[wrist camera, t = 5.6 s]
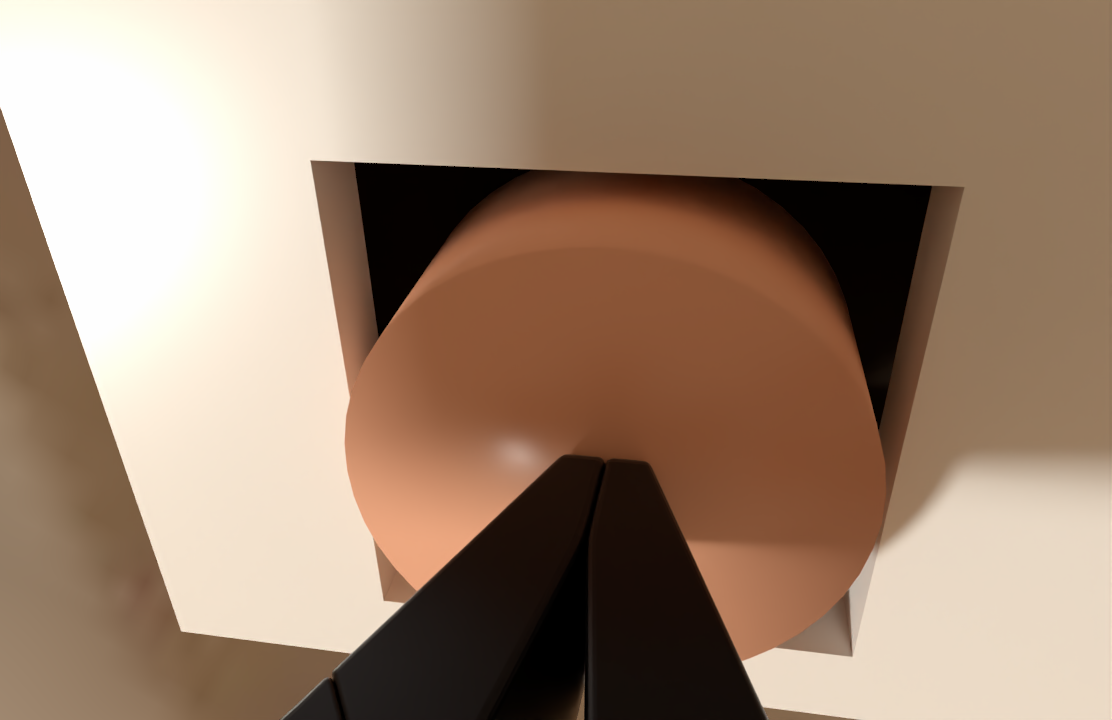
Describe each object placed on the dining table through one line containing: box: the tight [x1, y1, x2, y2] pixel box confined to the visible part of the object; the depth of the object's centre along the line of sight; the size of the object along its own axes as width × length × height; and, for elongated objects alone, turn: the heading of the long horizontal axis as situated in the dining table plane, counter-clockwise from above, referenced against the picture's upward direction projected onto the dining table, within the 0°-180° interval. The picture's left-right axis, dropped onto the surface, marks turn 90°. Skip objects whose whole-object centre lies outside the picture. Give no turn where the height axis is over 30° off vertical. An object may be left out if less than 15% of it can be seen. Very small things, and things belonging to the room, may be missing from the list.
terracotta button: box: [344, 169, 886, 661], centre depth 9 cm, size 5×5×2 cm
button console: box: [0, 0, 1112, 720], centre depth 9 cm, size 12×16×4 cm
